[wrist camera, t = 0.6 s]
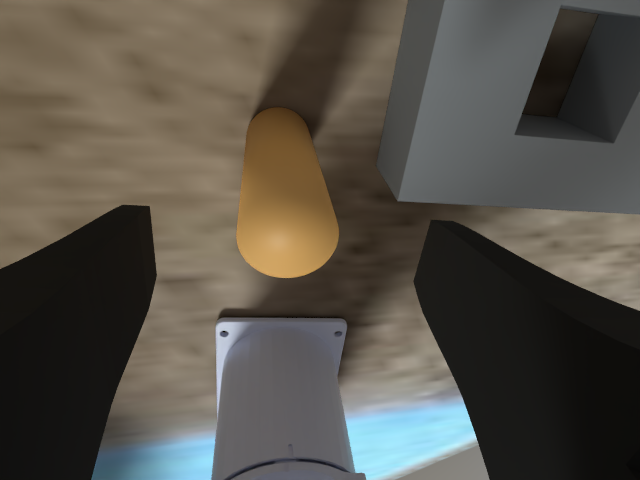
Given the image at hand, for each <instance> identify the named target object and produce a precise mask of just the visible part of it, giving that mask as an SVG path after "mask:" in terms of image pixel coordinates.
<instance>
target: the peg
mask: <svg viewBox="0 0 640 480" xmlns="http://www.w3.org/2000/svg"><path fill="white" fill-rule="evenodd" d="M236 237H237V244H238V248H239V250H240V252H241V254H242V256H243V257H244V259H245V260H246V261H247V262H248V263H249V264H250V265H251V266H252V267H253V268H255V269H256V270H258V271H260V272H262V273H264V274H266V275H269V276H273V277H278V278H293V277H299V276H303V275H306V274H309V273H311V272H313V271H315V270H317V269H318V268H320V267H321V266H322V265H324V264H325V263H326V262H327V261H328V260H329V258H330V257H331V256H332V254H333V253H334V251H335V249H336V246H337V243H338V239H339V227H338V222H337V219H336V216H335V212H334V209H333V206H332V203H331V200H330V197H329V193H328V190H327V187H326V184H325V181H324V177H323V174H322V171H321V168H320V165H319V162H318V158H317V155H316V152H315V149H314V146H313V142H312V139H311V136H310V133H309V130H308V127H307V125H306V123H305V121H304V120H303V119H302V118H301V117H300V116H299V115H298V114H297V113H295V112H294V111H292V110H290V109H287V108H282V107H273V108H268V109H266V110H263V111H262V112H260V113H259V114H257V115H256V116H255V117H254V118H253V120H252V121H251V123H250V124H249V127H248V130H247V136H246V145H245V155H244V165H243V174H242V184H241V194H240V203H239V213H238V223H237V233H236Z"/></svg>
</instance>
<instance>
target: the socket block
mask: <svg viewBox="0 0 640 480" xmlns="http://www.w3.org/2000/svg"><path fill="white" fill-rule="evenodd" d="M560 9H567V10H575V11H582V12H589V13H596V14H599V15H598V18H597V20H596V23H595V25H594V27H593V30H592V32H591V35H590V37H589V40H588V42H587V45H586V47H585V50H584V52H583V55H582V57H581V59H580V62H579V64H578V67H577V69H576V72H575V74H574V77H573V79H572V82H571V84H570V87H569V89H568V92H567V94H566V96H565V99H564V101H563V104H562V106H561V109H560V111H559V114H558V116H557V117H546V116H536V115H525V114H522V112H523V109H524V106H525V104H526V101H527V98H528V95H529V93H530V90H531V87H532V84H533V82H534V79H535V76H536V73H537V70H538V68H539V65H540V62H541V59H542V57H543V54H544V51H545V48H546V46H547V43H548V40H549V37H550V34H551V32H552V29H553V26H554V23H555V21H556V18H557V15H558V12H559V10H560ZM376 167H377V169H378V170H379V172H380V173H381V175H382V177H383V178H384V180H385V181H386V183H387V185H388V186H389V188H390V190H391V191H392V193H393V194H394V196H395V198H396V199H397V201H405V202H423V203H441V204H460V205H478V206H496V207H515V208H533V209H551V210H569V211H588V212H606V213H624V214H640V0H408V5H407V10H406V15H405V20H404V25H403V30H402V35H401V41H400V46H399V51H398V56H397V61H396V66H395V71H394V76H393V82H392V87H391V92H390V97H389V102H388V107H387V112H386V117H385V122H384V128H383V133H382V138H381V143H380V148H379V153H378V158H377V163H376Z"/></svg>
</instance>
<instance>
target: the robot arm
mask: <svg viewBox="0 0 640 480" xmlns="http://www.w3.org/2000/svg"><path fill="white" fill-rule="evenodd" d="M156 276H157V273H156V263H155V253H154V244H153V234H152V224H151V214H150V206H137V205H121V206H119V207H117V208H115V209H113V210H111V211H109V212H107V213H106V214H104V215H102V216H100V217H99V218H97V219H95V220H94V221H92V222H90V223H88V224H87V225H85V226H83V227H81V228H80V229H78V230H76V231H74V232H73V233H71V234H69V235H67V236H66V237H64V238H62V239H60V240H58V241H56V242H54V243H52V244H50V245H49V246H47V247H45V248H43V249H41V250H39V251H37V252H35V253H33V254H31V255H29V256H27V257H25V258H23V259H21V260H19V261H17V262H15V263H13V264H11V265H8V266H6V267H4V268H2V269H0V480H91V478H92V474H93V470H94V466H95V463H96V459H97V455H98V451H99V447H100V444H101V440H102V436H103V433H104V429H105V426H106V422H107V419H108V415H109V411H110V408H111V404H112V402H113V399H114V396H115V393H116V390H117V387H118V385H119V382H120V380H121V377H122V375H123V372H124V370H125V367H126V365H127V362H128V360H129V357H130V355H131V352H132V350H133V348H134V345H135V343H136V340H137V338H138V335H139V333H140V330H141V328H142V325H143V322H144V320H145V317H146V315H147V312H148V310H149V306H150V302H151V298H152V294H153V290H154V285H155V281H156ZM414 285H415V288H416V292H417V296H418V299H419V302H420V305H421V308H422V311H423V314H424V316H425V318H426V320H427V323H428V325H429V327H430V329H431V331H432V333H433V335H434V337H435V340H436V342H437V344H438V346H439V348H440V350H441V352H442V354H443V356H444V358H445V360H446V362H447V364H448V366H449V368H450V371H451V373H452V375H453V377H454V379H455V381H456V383H457V386H458V388H459V390H460V393H461V395H462V397H463V400H464V403H465V406H466V409H467V411H468V414H469V417H470V420H471V423H472V426H473V428H474V431H475V434H476V437H477V441H478V444H479V447H480V450H481V453H482V456H483V459H484V462H485V465H486V469H487V472H488V475H489V479H490V480H640V311H638V310H636V309H633V308H630V307H627V306H624V305H622V304H619V303H617V302H614V301H612V300H609V299H607V298H604V297H602V296H599V295H597V294H595V293H592V292H590V291H588V290H586V289H583V288H581V287H579V286H576V285H574V284H572V283H570V282H568V281H566V280H563V279H561V278H559V277H557V276H555V275H553V274H551V273H549V272H548V271H546V270H544V269H542V268H540V267H538V266H536V265H534V264H532V263H530V262H528V261H527V260H525V259H523V258H521V257H519V256H517V255H516V254H514V253H512V252H510V251H509V250H507V249H505V248H503V247H501V246H500V245H498V244H496V243H494V242H493V241H491V240H489V239H487V238H486V237H484V236H482V235H480V234H479V233H477V232H475V231H473V230H471V229H469V228H467V227H465V226H463V225H461V224H459V223H456V222H454V221H441V220H431V222H430V226H429V229H428V233H427V236H426V240H425V243H424V247H423V250H422V254H421V257H420V261H419V264H418V268H417V271H416V275H415V278H414ZM222 331H227V332H225V333H224V332H222ZM337 331H340V332H338V333H335V332H337ZM346 331H347V324H346V321H345V320H344V319H341V318H220V319H218V321H217V322H216V376H217V429H216V439H215V448H214V458H213V468H212V478H211V480H366V477H365V474H364V473H355V468H354V463H353V457H352V452H351V447H350V442H349V436H348V431H347V426H346V421H345V415H344V410H343V405H342V400H341V394H340V389H339V384H338V379H337V376H338V371H339V366H340V361H341V356H342V351H343V346H344V341H345V336H346Z"/></svg>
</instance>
